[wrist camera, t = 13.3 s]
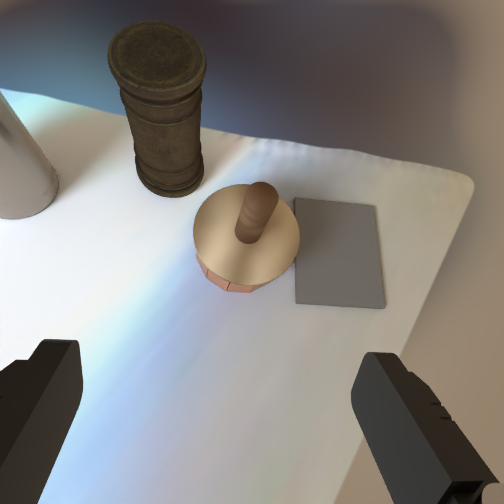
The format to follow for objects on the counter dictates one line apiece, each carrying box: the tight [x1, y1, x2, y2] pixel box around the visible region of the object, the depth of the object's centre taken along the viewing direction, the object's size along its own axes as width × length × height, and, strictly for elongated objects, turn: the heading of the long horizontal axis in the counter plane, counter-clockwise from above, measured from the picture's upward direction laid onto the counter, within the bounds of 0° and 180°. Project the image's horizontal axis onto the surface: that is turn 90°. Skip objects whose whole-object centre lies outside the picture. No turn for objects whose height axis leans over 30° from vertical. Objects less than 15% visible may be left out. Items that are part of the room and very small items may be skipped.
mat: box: [294, 197, 385, 309], centre depth 45 cm, size 12×15×1 cm
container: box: [108, 21, 207, 198], centre depth 37 cm, size 9×9×18 cm
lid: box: [193, 182, 300, 286], centre depth 33 cm, size 12×12×9 cm
